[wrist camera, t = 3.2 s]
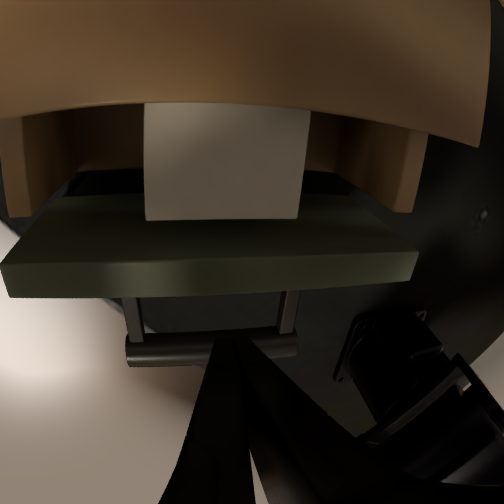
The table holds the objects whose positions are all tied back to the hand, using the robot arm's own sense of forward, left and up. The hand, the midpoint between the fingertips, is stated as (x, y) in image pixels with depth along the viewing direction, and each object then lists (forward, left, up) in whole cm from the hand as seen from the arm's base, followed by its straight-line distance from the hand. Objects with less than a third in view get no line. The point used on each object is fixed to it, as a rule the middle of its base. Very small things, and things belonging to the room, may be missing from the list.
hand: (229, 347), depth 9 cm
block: (+5, 0, -6) cm, 8 cm away
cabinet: (+13, 0, -8) cm, 15 cm away
